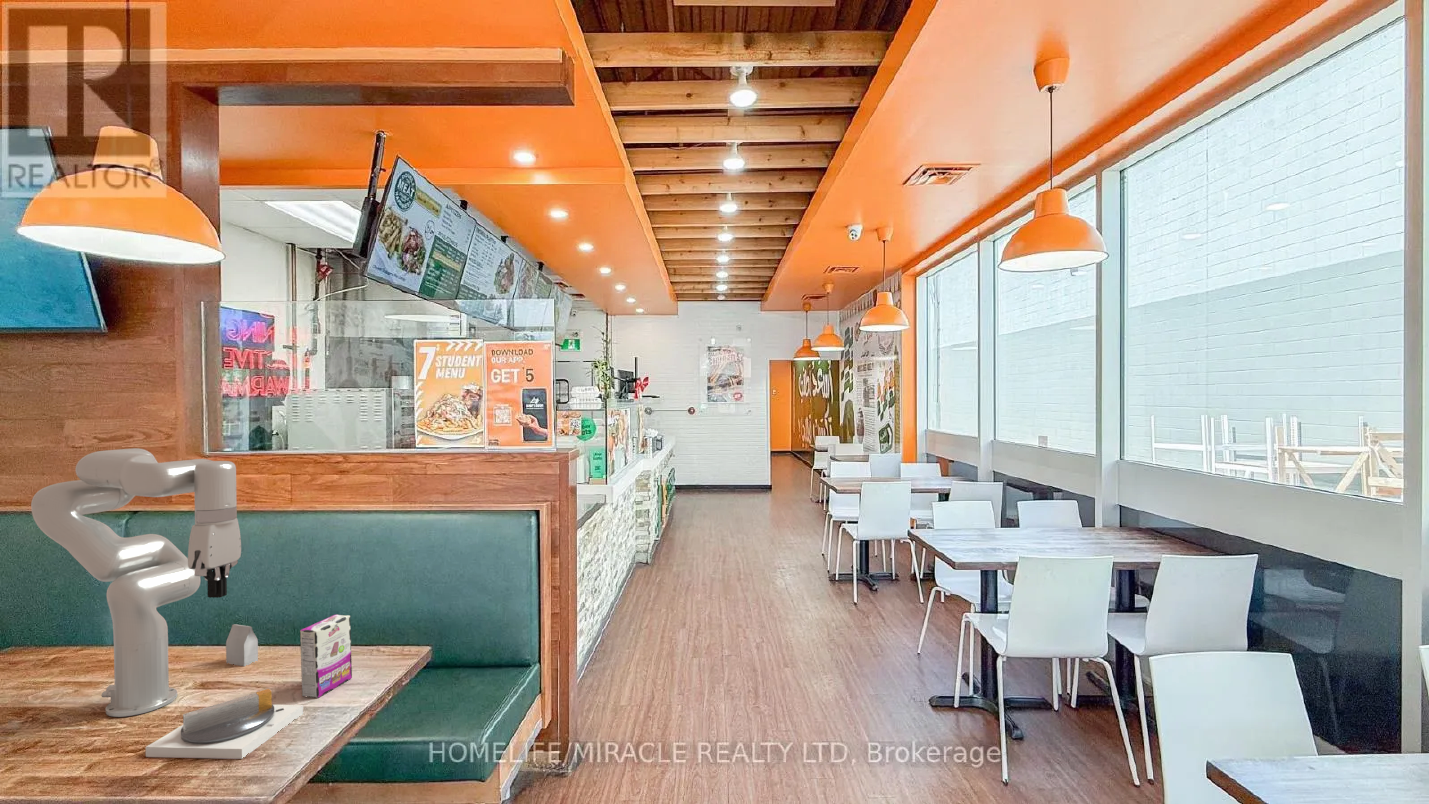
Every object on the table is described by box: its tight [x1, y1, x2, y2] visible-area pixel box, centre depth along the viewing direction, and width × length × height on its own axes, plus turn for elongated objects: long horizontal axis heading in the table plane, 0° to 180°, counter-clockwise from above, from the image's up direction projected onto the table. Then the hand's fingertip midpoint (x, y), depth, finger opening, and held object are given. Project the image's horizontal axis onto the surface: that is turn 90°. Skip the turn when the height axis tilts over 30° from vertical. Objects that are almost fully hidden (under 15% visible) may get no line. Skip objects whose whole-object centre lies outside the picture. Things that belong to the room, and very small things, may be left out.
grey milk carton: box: [225, 623, 259, 667], centre depth 175 cm, size 4×7×10 cm, turn 72°
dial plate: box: [145, 704, 304, 760], centre depth 138 cm, size 20×18×2 cm
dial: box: [181, 688, 274, 744], centre depth 138 cm, size 16×16×5 cm
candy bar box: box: [299, 614, 353, 699], centre depth 159 cm, size 11×5×16 cm, turn 168°
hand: (217, 596), depth 146 cm, fingers closed
